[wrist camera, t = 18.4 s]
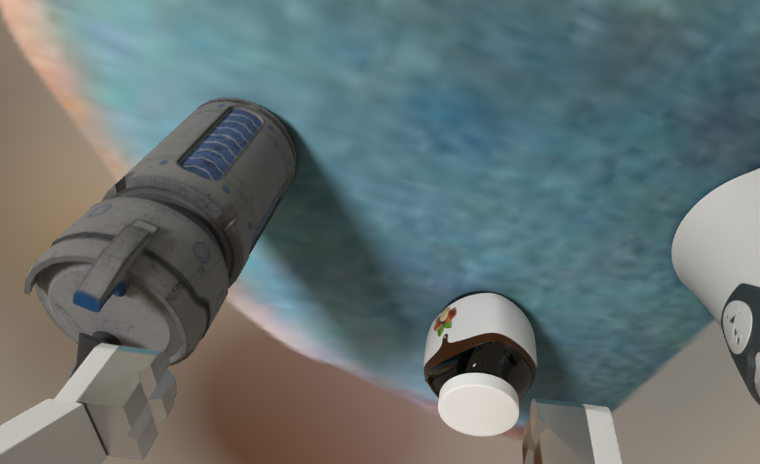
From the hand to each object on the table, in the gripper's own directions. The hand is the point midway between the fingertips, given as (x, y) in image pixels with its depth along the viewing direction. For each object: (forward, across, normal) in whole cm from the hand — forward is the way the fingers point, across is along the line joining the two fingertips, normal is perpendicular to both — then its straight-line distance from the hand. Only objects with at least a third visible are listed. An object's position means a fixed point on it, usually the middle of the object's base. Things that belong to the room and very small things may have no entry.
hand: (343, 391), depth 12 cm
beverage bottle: (+35, +17, +13) cm, 41 cm away
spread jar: (+35, -7, +32) cm, 48 cm away
